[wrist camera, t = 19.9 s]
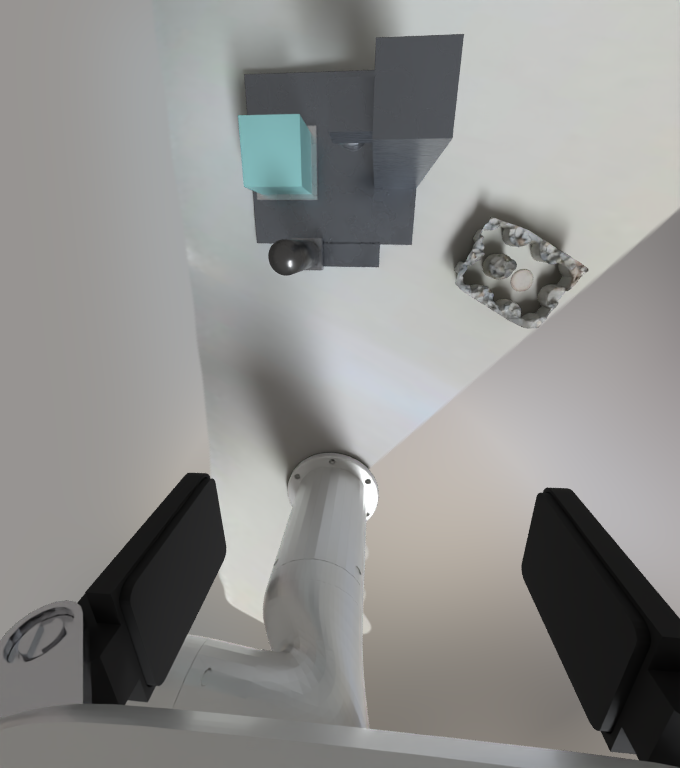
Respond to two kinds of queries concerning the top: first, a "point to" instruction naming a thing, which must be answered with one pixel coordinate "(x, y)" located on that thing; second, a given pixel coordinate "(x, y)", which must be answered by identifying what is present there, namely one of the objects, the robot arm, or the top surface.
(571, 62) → the top surface
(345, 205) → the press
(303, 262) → the lever
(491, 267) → the egg carton
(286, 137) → the teal cube block
